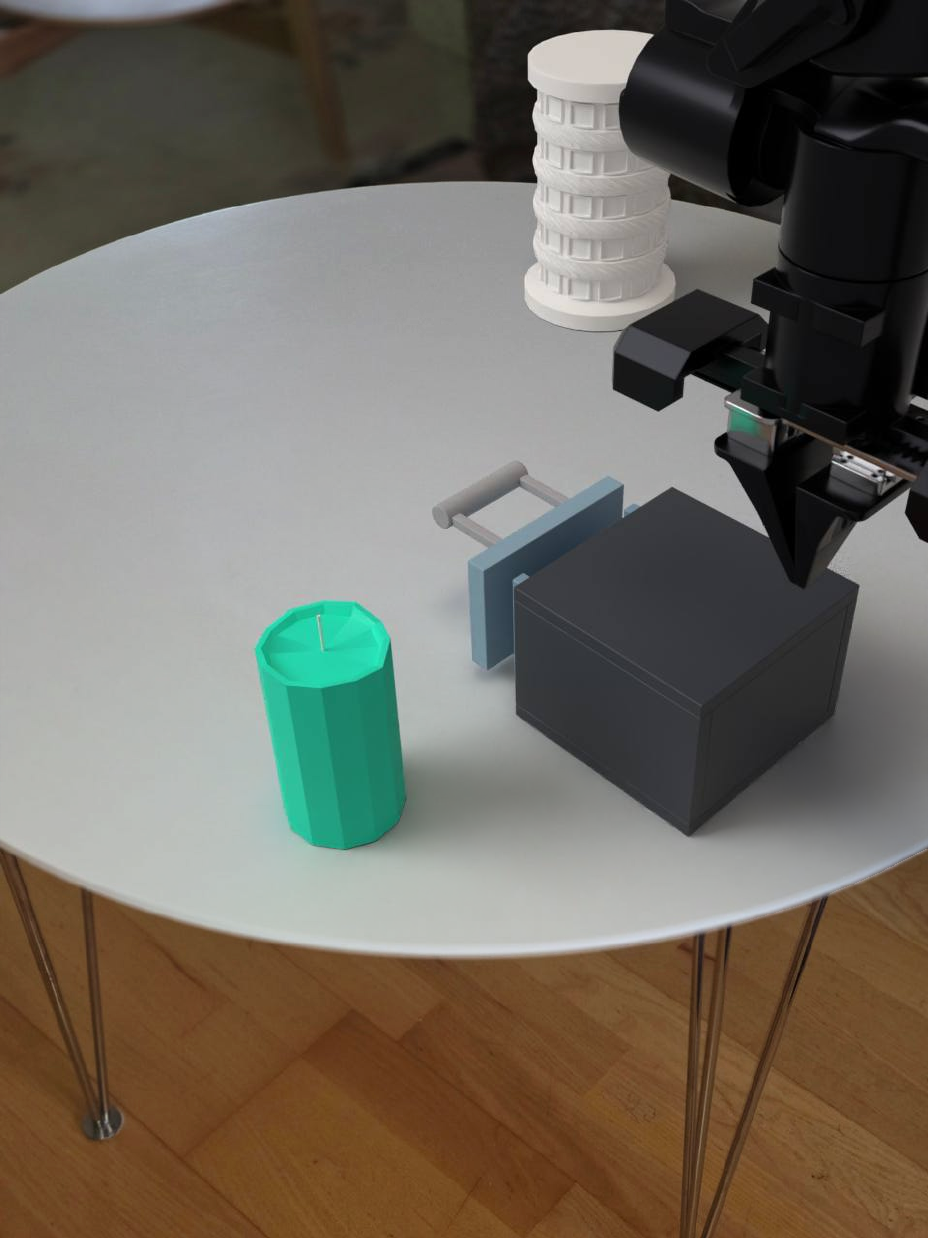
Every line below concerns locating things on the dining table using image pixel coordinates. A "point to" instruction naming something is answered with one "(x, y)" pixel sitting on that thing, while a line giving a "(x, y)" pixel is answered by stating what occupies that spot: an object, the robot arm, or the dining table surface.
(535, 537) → the drawer
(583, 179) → the decorative container
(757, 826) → the dining table surface
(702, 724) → the dark grey box
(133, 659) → the dining table surface
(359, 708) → the candle
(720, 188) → the robot arm
